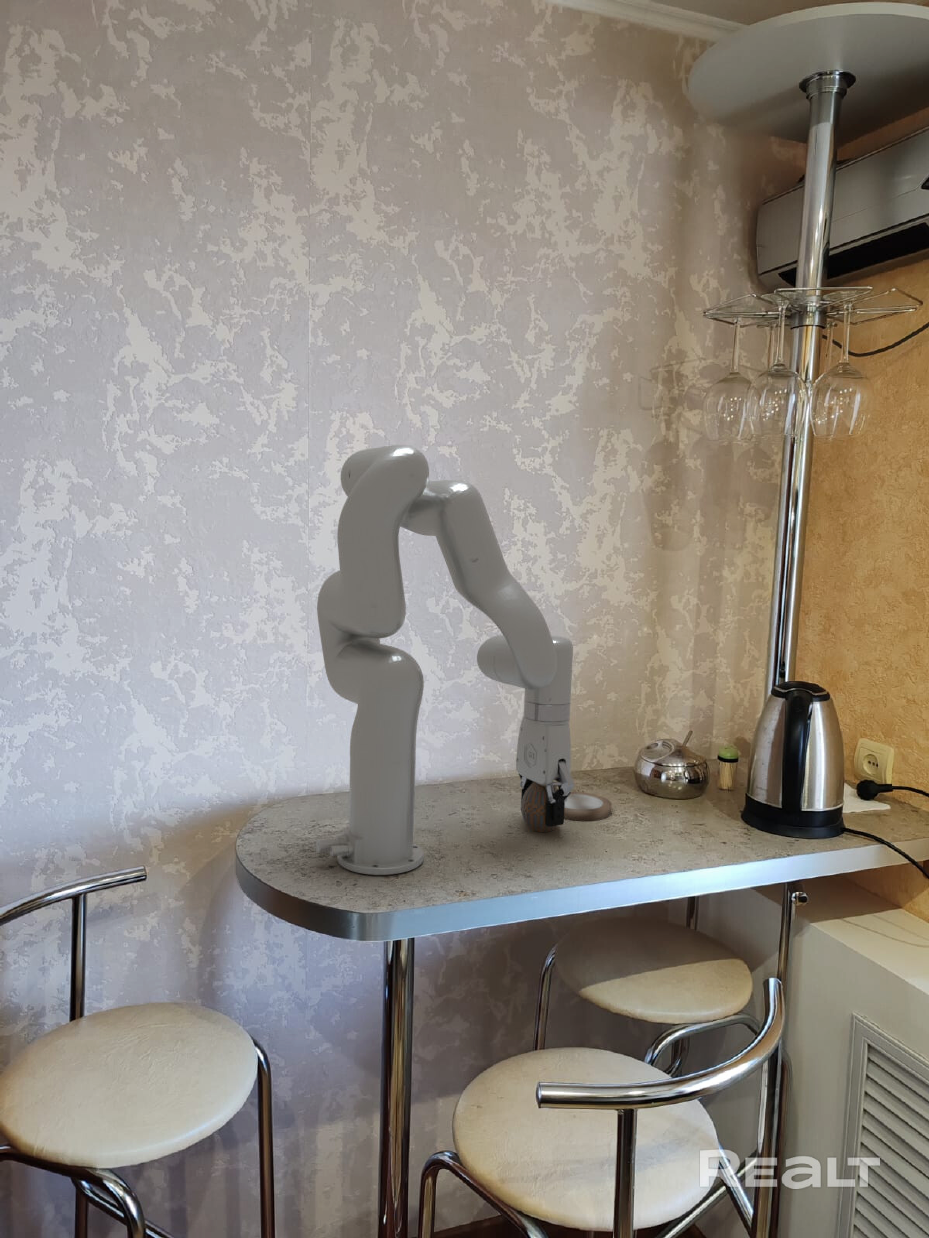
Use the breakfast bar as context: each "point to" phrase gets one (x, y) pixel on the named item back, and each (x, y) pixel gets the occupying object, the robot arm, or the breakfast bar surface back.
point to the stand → (586, 807)
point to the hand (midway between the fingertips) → (541, 817)
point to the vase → (536, 807)
